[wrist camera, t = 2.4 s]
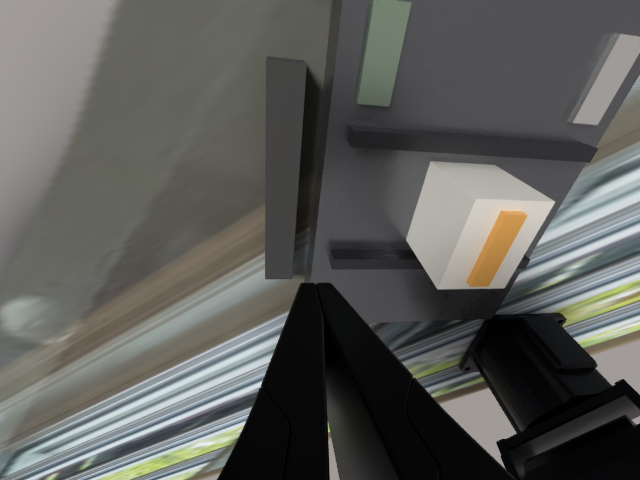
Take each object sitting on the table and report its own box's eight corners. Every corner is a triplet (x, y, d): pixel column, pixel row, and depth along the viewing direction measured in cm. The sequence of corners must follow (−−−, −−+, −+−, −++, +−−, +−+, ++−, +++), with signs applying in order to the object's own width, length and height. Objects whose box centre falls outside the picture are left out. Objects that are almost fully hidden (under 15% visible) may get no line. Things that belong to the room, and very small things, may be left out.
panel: (474, 296, 21) (499, 328, 19) (302, 300, 19) (306, 336, 17) (626, 9, 12) (707, 5, 10) (336, -39, 10) (354, -58, 8)
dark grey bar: (290, 262, 17) (292, 278, 16) (265, 262, 17) (265, 279, 16) (303, 60, 12) (306, 63, 11) (267, 56, 12) (266, 59, 11)
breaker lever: (461, 240, 16) (509, 293, 12) (405, 240, 15) (441, 294, 12) (494, 164, 13) (562, 206, 10) (430, 161, 13) (481, 202, 10)
